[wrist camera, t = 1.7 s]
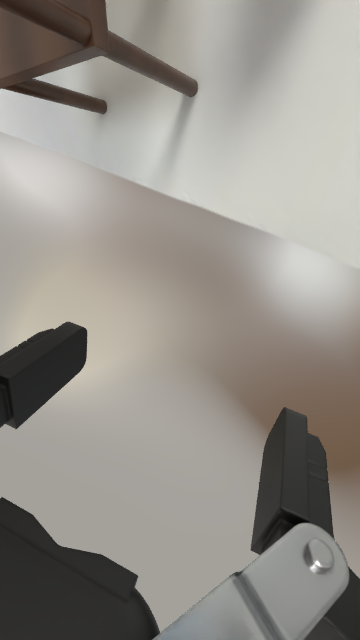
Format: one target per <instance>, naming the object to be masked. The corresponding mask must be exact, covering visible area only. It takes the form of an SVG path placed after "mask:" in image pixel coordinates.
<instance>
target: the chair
mask: <svg viewBox="0 0 360 640" xmlns="http://www.w3.org/2000/svg"><path fill="white" fill-rule="evenodd" d="M101 55H102V56H104V57H106V58H108V59H110V60H113V61H115V62H117V63H119V64H121V65H123V66H125V67H128V68H130V69H132V70H134V71H136V72H138V73H140V74H142V75H145V76H147V77H149V78H151V79H153V80H155V81H157V82H160V83H162V84H164V85H166V86H168V87H170V88H172V89H174V90H177V91H179V92H181V93H183V94H185V95H187V96H189V97H192V96H194V95H195V94H196V92H197V90H198V84H197V82H196V81H195V80H194V79H192V78H191V77H189V76H187V75H185V74H184V73H182V72H180V71H178V70H177V69H175V68H173V67H171V66H170V65H168V64H166V63H164V62H163V61H161V60H159V59H157V58H156V57H154V56H152V55H150V54H149V53H147V52H145V51H144V50H142V49H140V48H138V47H137V46H135V45H133V44H131V43H130V42H128V41H126V40H124V39H123V38H121V37H119V36H117V35H116V34H114V33H112V32H110V31H109V30H108V28H107V17H106V6H105V0H0V89H1V88H2V89H6V90H10V91H14V92H18V93H22V94H26V95H30V96H33V97H37V98H41V99H45V100H49V101H53V102H57V103H61V104H65V105H69V106H73V107H76V108H80V109H84V110H88V111H92V112H96V113H100V114H104V113H105V112H106V110H107V105H106V102H105V101H104V100H101V99H98V98H95V97H91V96H88V95H85V94H82V93H78V92H75V91H72V90H69V89H65V88H62V87H59V86H56V85H52V84H49V83H46V82H43V81H39V80H36V79H33V78H35V77H38V76H41V75H44V74H47V73H50V72H53V71H56V70H59V69H62V68H65V67H68V66H71V65H74V64H77V63H80V62H83V61H86V60H89V59H92V58H95V57H98V56H101Z"/></svg>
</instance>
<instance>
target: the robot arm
mask: <svg viewBox="0 0 360 640" xmlns="http://www.w3.org/2000/svg"><path fill="white" fill-rule="evenodd" d="M86 355H87V330H86V328H84V327H81V326H79V325H76V324H73V323H71V322H66V323H64V324H62V325H61V326H59V327H58V328H56V329H49V330H46V331H42V332H39V333H37V334H35V335H34V336H32V337H31V338H29V339H28V340H27V341H24V342H22V343H21V344H19V345H18V347H17V346H16V347H14V348H13V349H11V350H10V351H8V352H6V353H4V354H3V355H1V356H0V427H1V426H3V425H4V424H7V425H9V426H11V427H13V428H15V429H17V428H18V427H19V426H20V425H21V424H23V423H24V422H25V421H26V420H27V419H28V418H29V417H30V416H31V415H32V414H34V413H35V412H36V411H37V410H38V409H39V408H40V407H41V406H43V405H44V404H45V403H46V402H47V401H48V400H49V399H50V398H51V397H52V396H53V395H55V394H56V393H57V392H58V391H59V390H60V389H61V388H62V387H64V386H65V385H66V384H67V383H68V382H69V381H70V380H71V379H72V378H73V377H75V375H77V374H78V373H79V372H80V371H81V369H82V368H83V367H84V365H85V362H86ZM251 551H253V552H255V553H258V554H259V555H260V556H259V557H258V558H257V559H255V560H254V561H253V562H252V563H250V564H249V565H248V566H247V567H246V568H244V569H243V570H242V571H240V572H235V573H233V574H232V575H231V576H229V577H228V578H226V579H225V580H224V581H223V582H222V583H220V584H219V585H218V586H217V587H215V588H214V589H213V590H212V591H211V592H209V593H208V594H207V595H206V596H205V597H203V598H202V599H201V600H200V601H199V602H197V603H196V604H195V605H194V606H193V607H191V608H190V609H189V610H188V611H187V612H185V613H184V614H183V615H181V616H180V617H179V618H178V619H177V620H176V621H174V622H173V623H172V624H171V625H169V626H168V627H167V628H166V629H165V630H163V631H162V632H161V633H160V631H159V628H158V625H157V623H156V620H155V618H154V616H153V614H152V612H151V610H150V608H149V606H148V604H147V603H146V602H145V600H144V598H143V597H142V596H141V594H140V593H139V592H138V591H137V590H136V588H135V585H136V582H137V578H138V576H137V575H136V574H134V573H133V572H131V571H129V570H127V569H126V568H124V567H122V566H120V565H118V564H117V563H115V562H114V561H112V560H110V559H108V558H107V557H105V556H103V555H101V554H96V553H91V552H86V551H81V550H76V549H72V548H67V547H62V546H59V545H58V544H57V543H56V542H55V541H54V540H53V539H52V537H50V535H49V534H48V533H47V532H46V530H45V529H44V528H43V527H42V526H41V524H40V523H39V522H38V521H37V520H36V518H35V517H34V516H33V515H32V514H31V513H29V512H27V511H25V510H24V509H22V508H20V507H18V506H17V505H15V504H13V503H12V502H10V501H8V500H6V499H5V498H3V497H2V498H1V499H0V640H360V579H359V578H358V577H357V576H356V575H355V574H354V572H353V571H352V570H351V569H350V568H349V566H348V564H347V561H346V558H345V556H344V554H343V551H342V550H341V548H340V547H339V545H338V544H337V542H335V539H334V535H333V526H332V515H331V504H330V493H329V483H328V472H327V460H326V452H325V450H324V448H323V446H322V444H321V442H320V440H319V438H318V437H316V436H314V435H312V434H309V433H308V431H307V417H306V416H305V415H303V414H300V413H298V412H295V411H293V410H290V409H288V408H285V407H284V408H283V409H282V411H281V413H280V415H279V417H278V418H277V420H276V422H275V424H274V426H273V428H272V430H271V432H270V434H269V436H268V438H267V441H266V444H265V447H264V452H263V459H262V467H261V474H260V482H259V490H258V497H257V505H256V513H255V520H254V528H253V536H252V543H251Z"/></svg>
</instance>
